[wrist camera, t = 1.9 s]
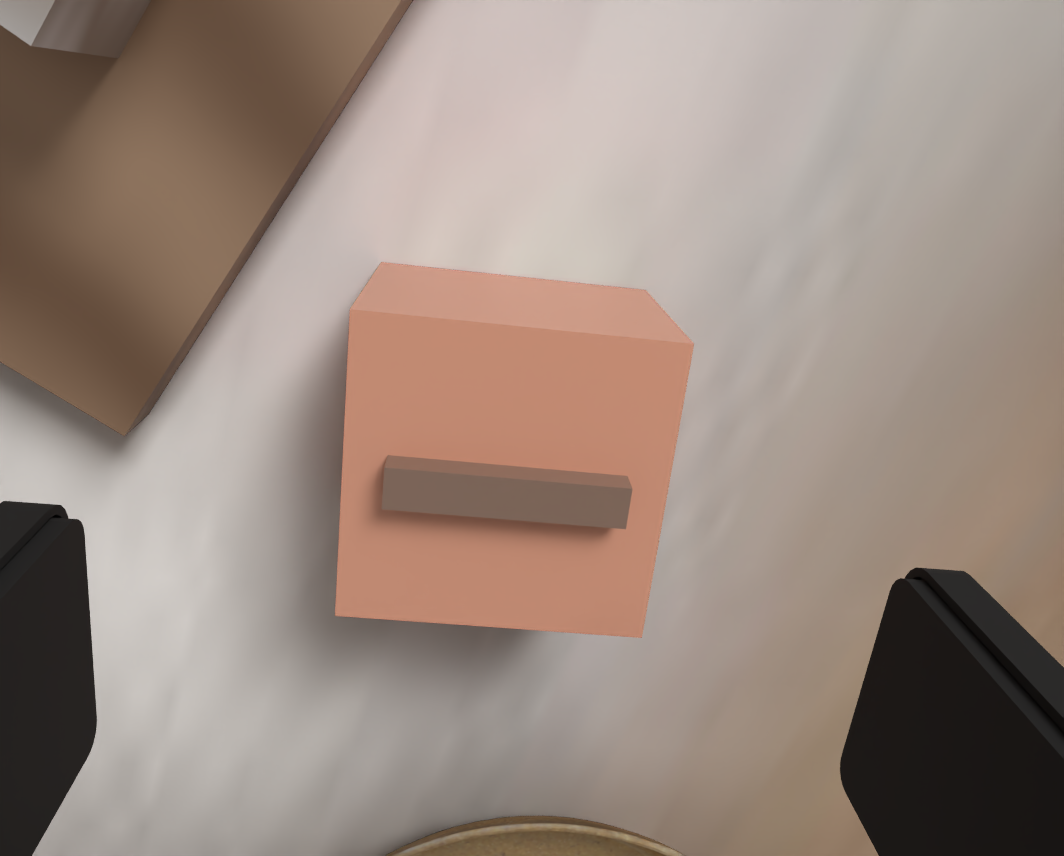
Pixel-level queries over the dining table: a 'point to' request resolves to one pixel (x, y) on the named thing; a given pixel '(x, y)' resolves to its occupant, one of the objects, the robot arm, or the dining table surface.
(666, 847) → the plant saucer
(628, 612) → the salmon pink cube
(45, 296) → the base
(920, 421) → the dining table surface
